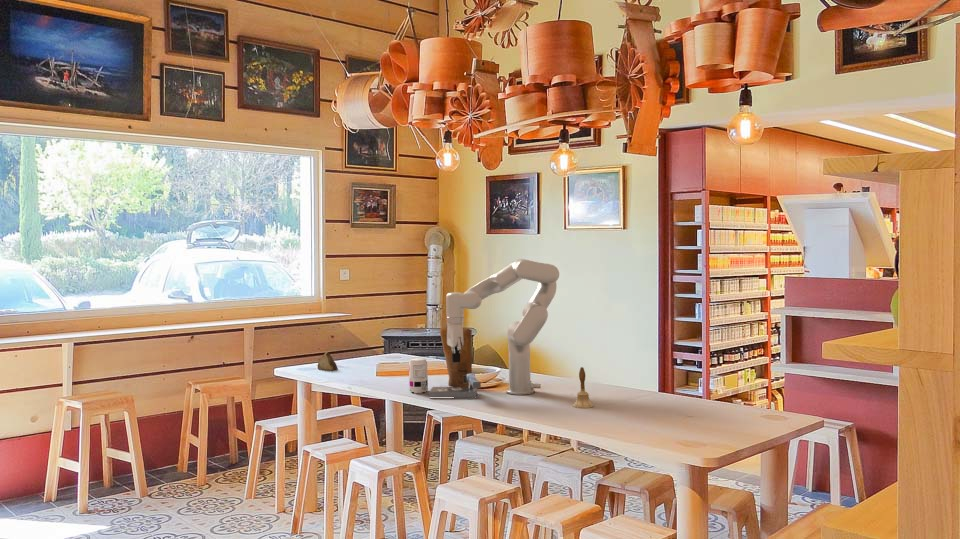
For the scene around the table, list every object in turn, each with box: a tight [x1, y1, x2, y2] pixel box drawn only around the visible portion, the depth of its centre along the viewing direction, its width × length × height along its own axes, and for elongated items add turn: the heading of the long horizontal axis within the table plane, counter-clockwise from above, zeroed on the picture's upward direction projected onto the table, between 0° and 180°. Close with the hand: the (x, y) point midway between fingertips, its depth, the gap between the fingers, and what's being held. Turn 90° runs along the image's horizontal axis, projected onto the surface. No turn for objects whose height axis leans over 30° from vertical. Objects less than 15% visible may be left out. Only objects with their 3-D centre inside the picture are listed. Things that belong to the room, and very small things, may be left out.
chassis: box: [428, 381, 478, 399], centre depth 343 cm, size 20×10×6 cm, turn 85°
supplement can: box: [408, 357, 429, 394], centre depth 353 cm, size 8×8×15 cm
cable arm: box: [467, 373, 482, 389], centre depth 337 cm, size 20×4×2 cm, turn 9°
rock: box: [316, 351, 339, 371], centre depth 415 cm, size 11×9×10 cm
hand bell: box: [572, 366, 594, 409], centre depth 320 cm, size 8×8×16 cm
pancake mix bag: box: [439, 326, 473, 387], centre depth 362 cm, size 7×19×28 cm, turn 45°
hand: (456, 361), depth 343 cm, fingers closed
